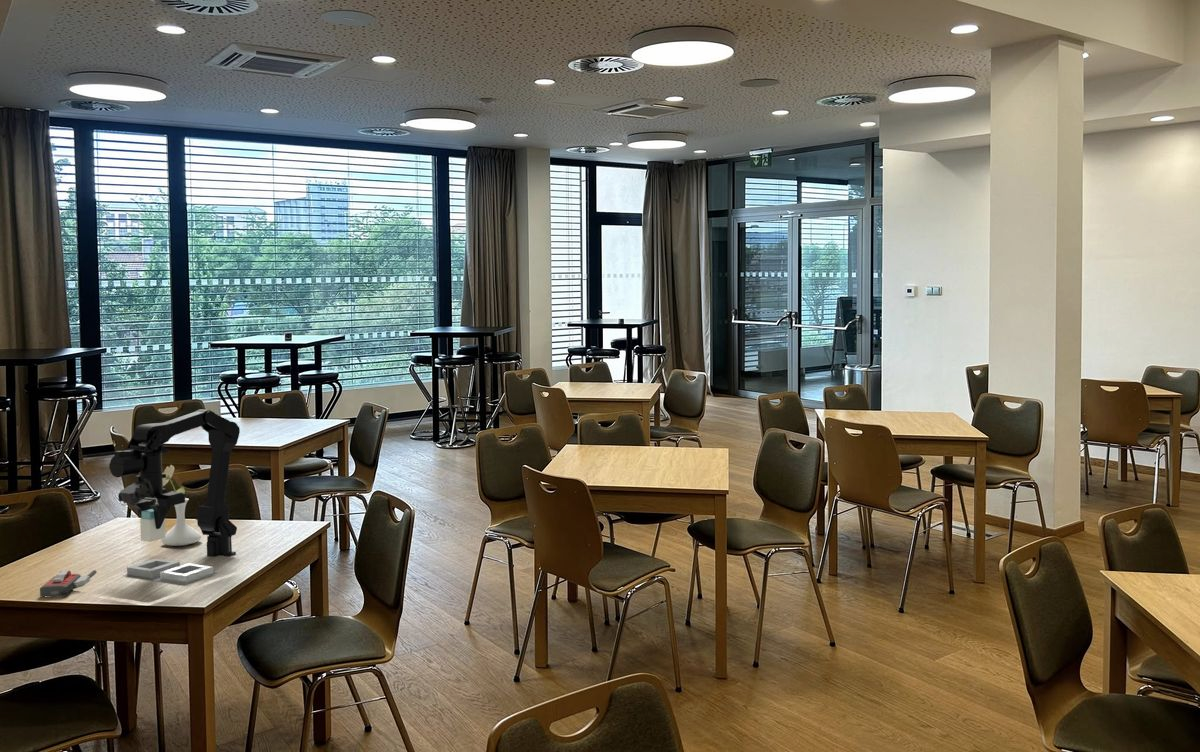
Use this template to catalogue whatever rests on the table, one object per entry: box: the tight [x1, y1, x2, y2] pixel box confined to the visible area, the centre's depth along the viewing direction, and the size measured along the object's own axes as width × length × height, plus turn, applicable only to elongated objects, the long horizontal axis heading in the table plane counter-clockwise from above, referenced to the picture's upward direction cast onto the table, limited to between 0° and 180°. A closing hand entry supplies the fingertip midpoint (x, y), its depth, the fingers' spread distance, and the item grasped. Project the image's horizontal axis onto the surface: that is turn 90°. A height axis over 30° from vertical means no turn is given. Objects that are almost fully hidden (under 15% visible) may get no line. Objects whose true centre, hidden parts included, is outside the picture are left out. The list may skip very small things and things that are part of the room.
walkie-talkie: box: [39, 569, 97, 598], centre depth 256 cm, size 9×4×20 cm
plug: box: [139, 509, 166, 543], centre depth 265 cm, size 4×5×8 cm
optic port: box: [160, 562, 214, 584], centre depth 262 cm, size 9×10×2 cm
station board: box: [122, 571, 218, 586], centre depth 264 cm, size 22×12×1 cm, turn 67°
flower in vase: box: [160, 464, 202, 547], centre depth 298 cm, size 13×11×25 cm
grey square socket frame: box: [126, 558, 181, 578], centre depth 266 cm, size 9×10×2 cm
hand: (153, 528), depth 265 cm, fingers closed on plug, 3 cm apart
